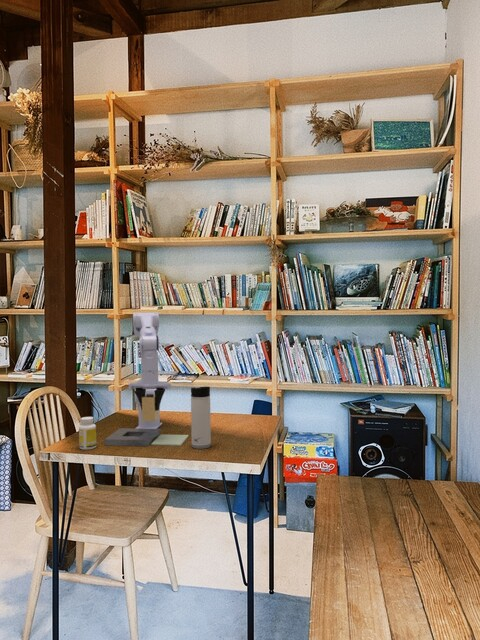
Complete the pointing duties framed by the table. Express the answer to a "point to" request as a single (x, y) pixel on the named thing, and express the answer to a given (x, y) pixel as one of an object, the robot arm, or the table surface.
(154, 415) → the end cover
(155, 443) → the mat
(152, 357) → the robot arm
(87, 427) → the supplement bottle
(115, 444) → the square plate with hole
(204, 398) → the travel mug
